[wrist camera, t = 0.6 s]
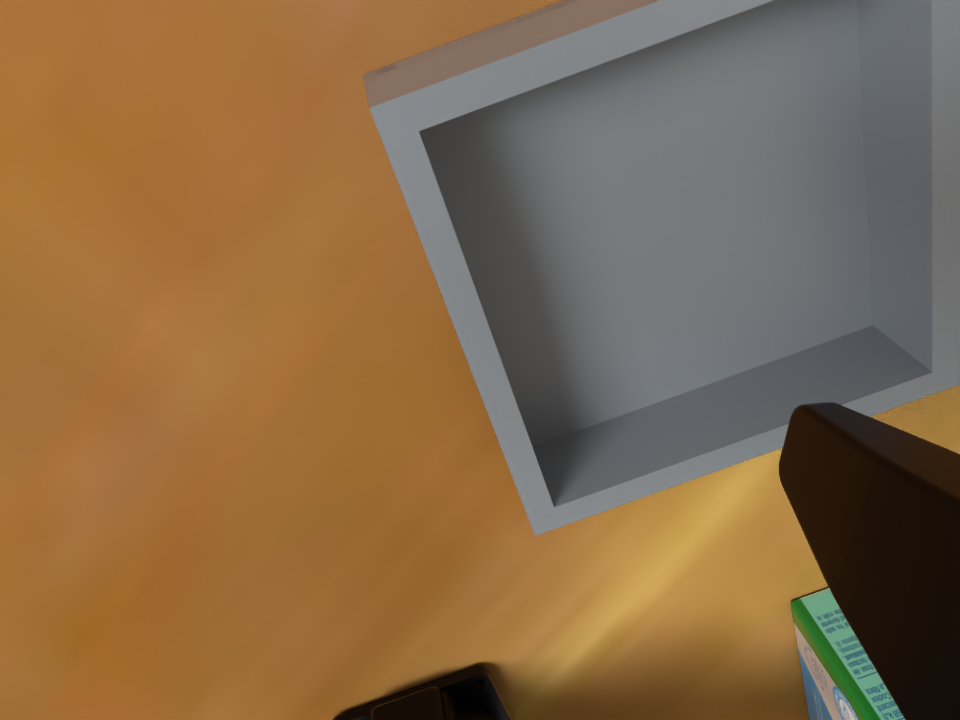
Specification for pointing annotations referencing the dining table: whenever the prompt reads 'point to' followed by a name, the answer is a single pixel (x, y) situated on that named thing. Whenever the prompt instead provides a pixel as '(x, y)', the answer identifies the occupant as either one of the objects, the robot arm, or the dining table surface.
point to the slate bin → (684, 226)
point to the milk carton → (837, 665)
